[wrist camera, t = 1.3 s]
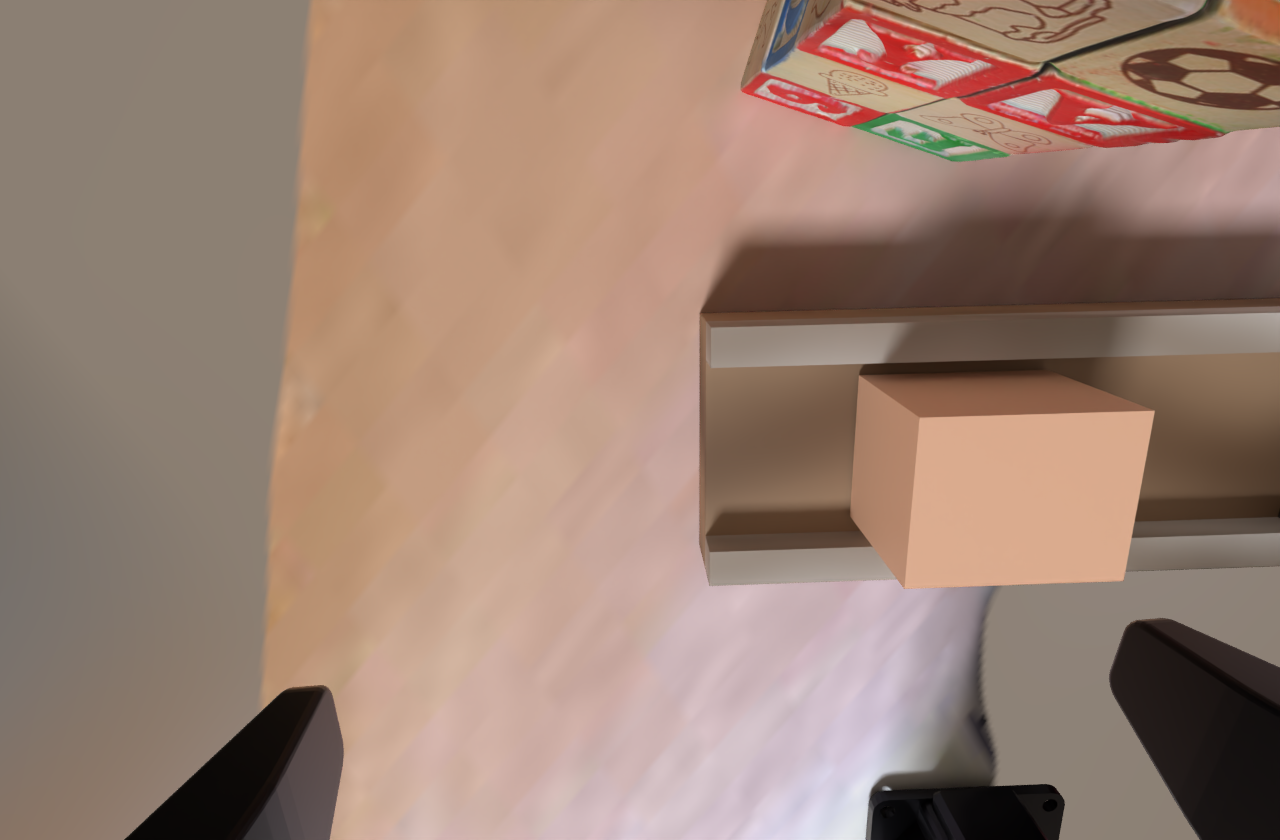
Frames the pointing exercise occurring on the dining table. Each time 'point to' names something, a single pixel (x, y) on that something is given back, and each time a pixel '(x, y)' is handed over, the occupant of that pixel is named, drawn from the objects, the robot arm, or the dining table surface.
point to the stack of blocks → (1022, 70)
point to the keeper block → (997, 477)
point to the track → (982, 342)
